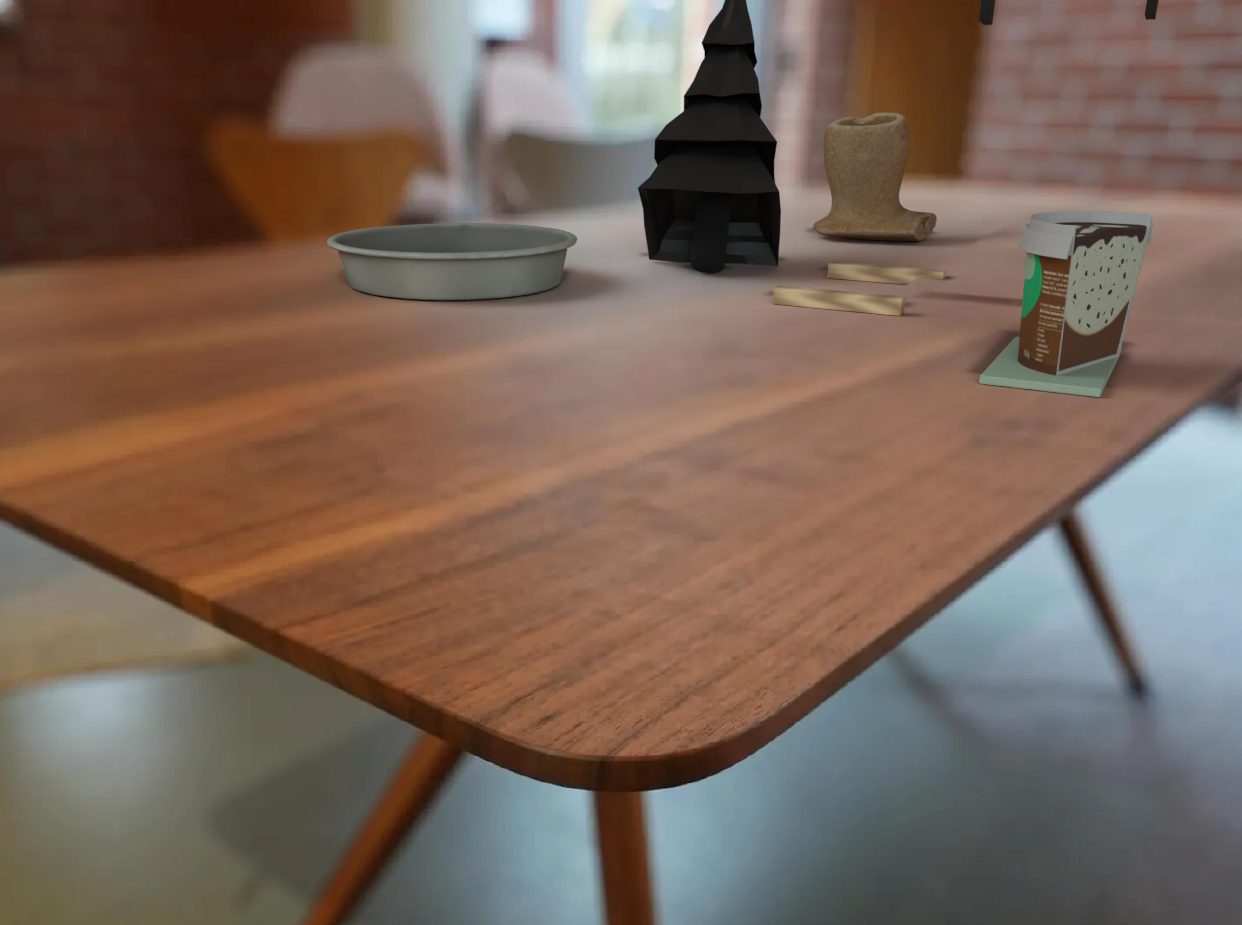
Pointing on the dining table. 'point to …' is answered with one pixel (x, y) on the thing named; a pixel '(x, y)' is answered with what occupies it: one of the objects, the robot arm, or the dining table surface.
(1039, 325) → the food container
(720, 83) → the decorative tree
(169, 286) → the dining table surface
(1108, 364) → the mat
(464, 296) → the cake pan
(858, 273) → the rack
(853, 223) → the stone cup
